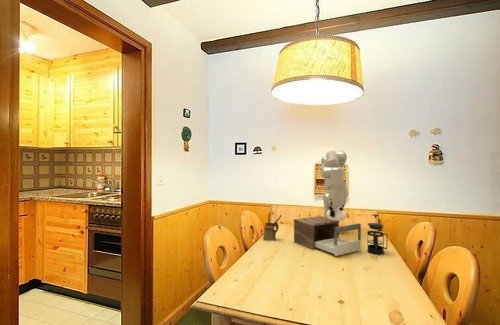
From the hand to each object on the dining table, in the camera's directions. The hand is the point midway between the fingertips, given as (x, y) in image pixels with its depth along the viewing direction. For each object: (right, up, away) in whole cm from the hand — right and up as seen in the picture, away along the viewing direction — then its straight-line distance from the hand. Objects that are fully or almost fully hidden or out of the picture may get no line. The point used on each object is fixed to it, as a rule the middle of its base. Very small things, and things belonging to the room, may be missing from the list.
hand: (336, 215), depth 166 cm
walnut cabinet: (-9, -21, +15) cm, 28 cm away
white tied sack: (0, -3, 0) cm, 3 cm away
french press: (+23, -21, -4) cm, 32 cm away
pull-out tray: (0, -20, 0) cm, 20 cm away
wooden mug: (-38, -22, +23) cm, 50 cm away
